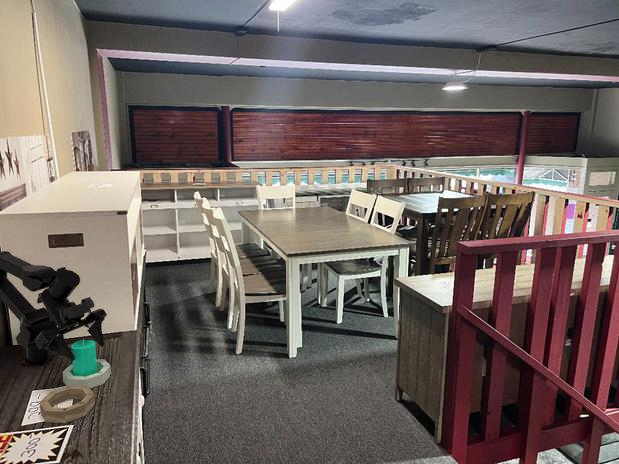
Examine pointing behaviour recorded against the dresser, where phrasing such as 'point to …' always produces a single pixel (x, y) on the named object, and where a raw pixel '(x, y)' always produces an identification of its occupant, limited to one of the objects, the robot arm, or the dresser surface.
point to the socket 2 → (67, 413)
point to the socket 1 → (89, 380)
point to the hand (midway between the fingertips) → (89, 352)
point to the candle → (84, 358)
